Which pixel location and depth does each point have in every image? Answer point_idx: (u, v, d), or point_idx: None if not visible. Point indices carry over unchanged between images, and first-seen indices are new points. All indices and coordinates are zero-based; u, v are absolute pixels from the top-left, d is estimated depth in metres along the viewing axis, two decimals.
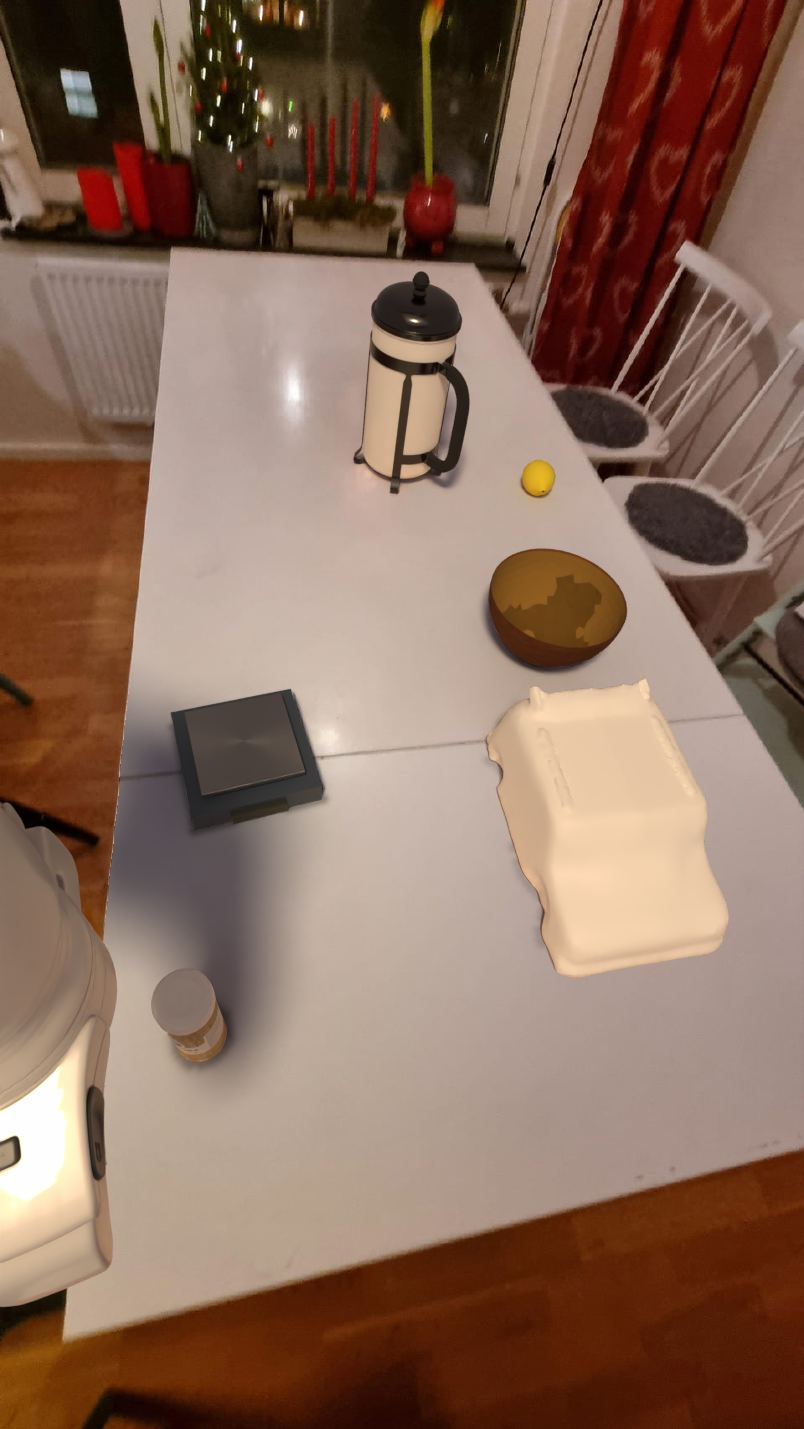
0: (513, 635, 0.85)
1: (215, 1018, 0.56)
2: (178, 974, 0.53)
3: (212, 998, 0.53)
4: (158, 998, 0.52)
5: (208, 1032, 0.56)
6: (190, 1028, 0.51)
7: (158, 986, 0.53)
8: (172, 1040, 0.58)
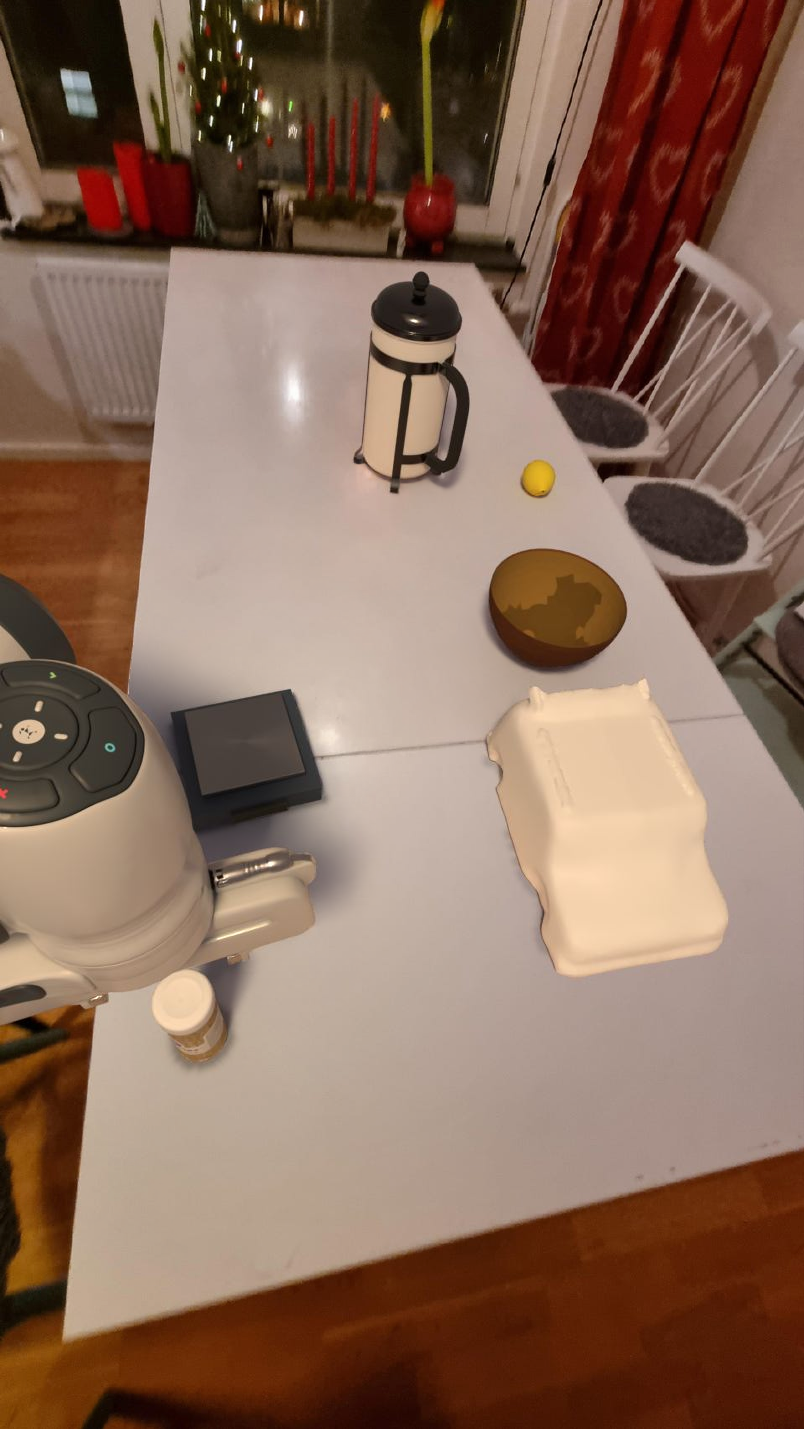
0: (513, 635, 0.85)
1: (215, 1018, 0.56)
2: (178, 974, 0.53)
3: (212, 998, 0.53)
4: (158, 998, 0.52)
5: (208, 1032, 0.56)
6: (190, 1028, 0.51)
7: (158, 986, 0.53)
8: (172, 1040, 0.58)
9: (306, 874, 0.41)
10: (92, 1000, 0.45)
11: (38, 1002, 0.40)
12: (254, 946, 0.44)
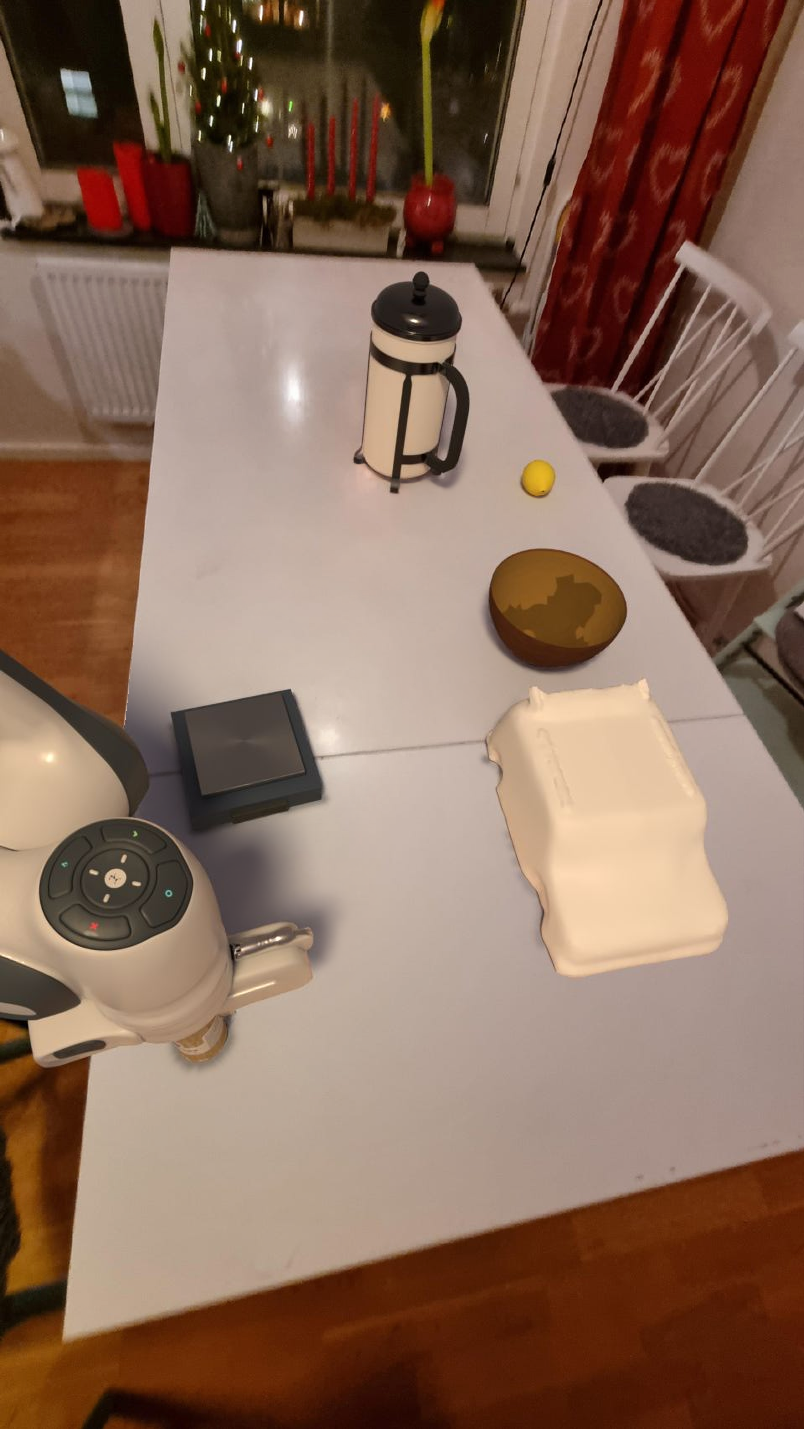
0: (513, 635, 0.85)
1: (214, 1019, 0.56)
2: None
3: None
4: None
5: (207, 1033, 0.56)
6: None
7: None
8: None
9: (305, 944, 0.52)
10: None
11: None
12: (263, 998, 0.55)
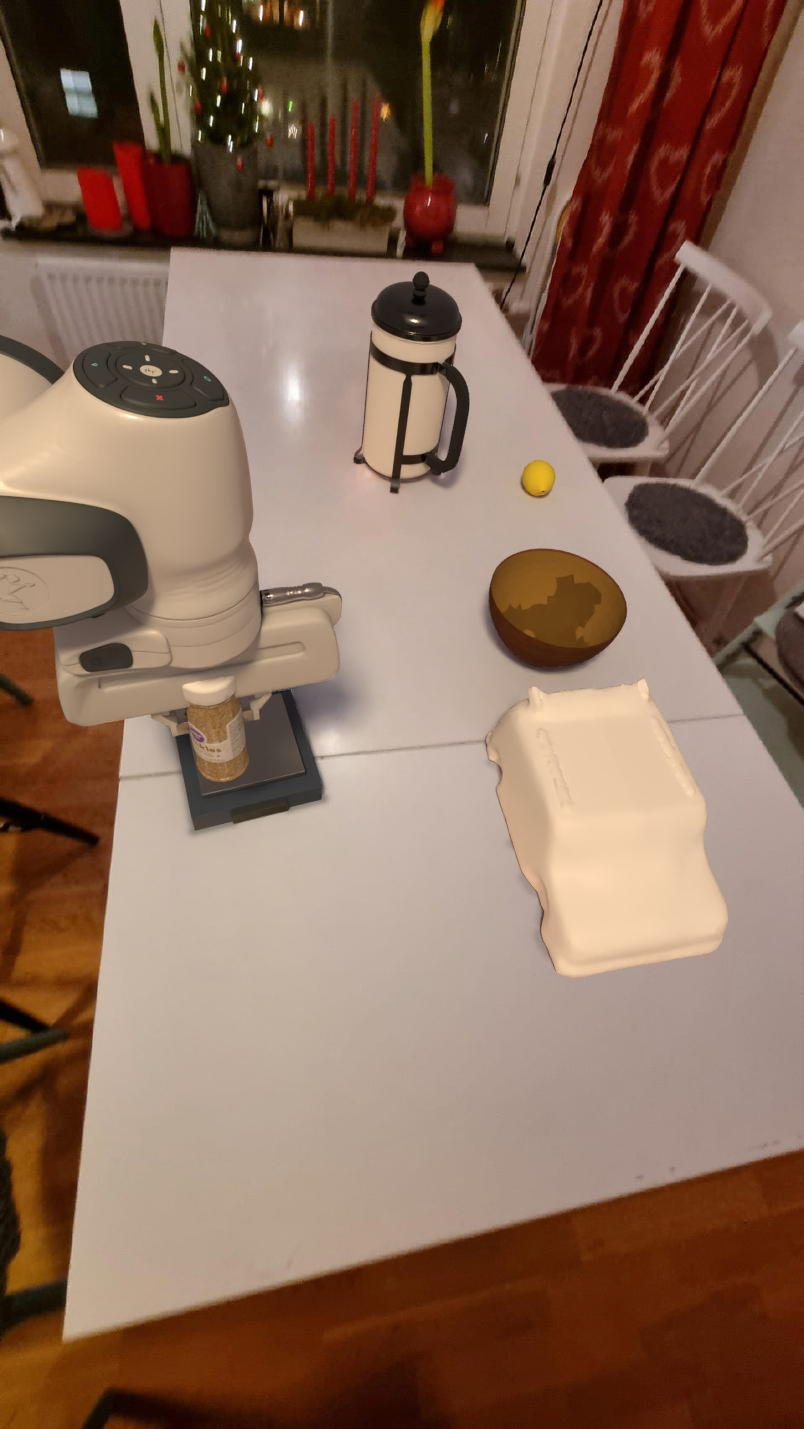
0: (513, 635, 0.85)
1: (238, 710, 0.55)
2: None
3: None
4: None
5: (231, 722, 0.54)
6: (213, 692, 0.50)
7: None
8: (194, 742, 0.57)
9: (334, 610, 0.51)
10: (180, 725, 0.55)
11: (118, 702, 0.49)
12: (289, 683, 0.54)
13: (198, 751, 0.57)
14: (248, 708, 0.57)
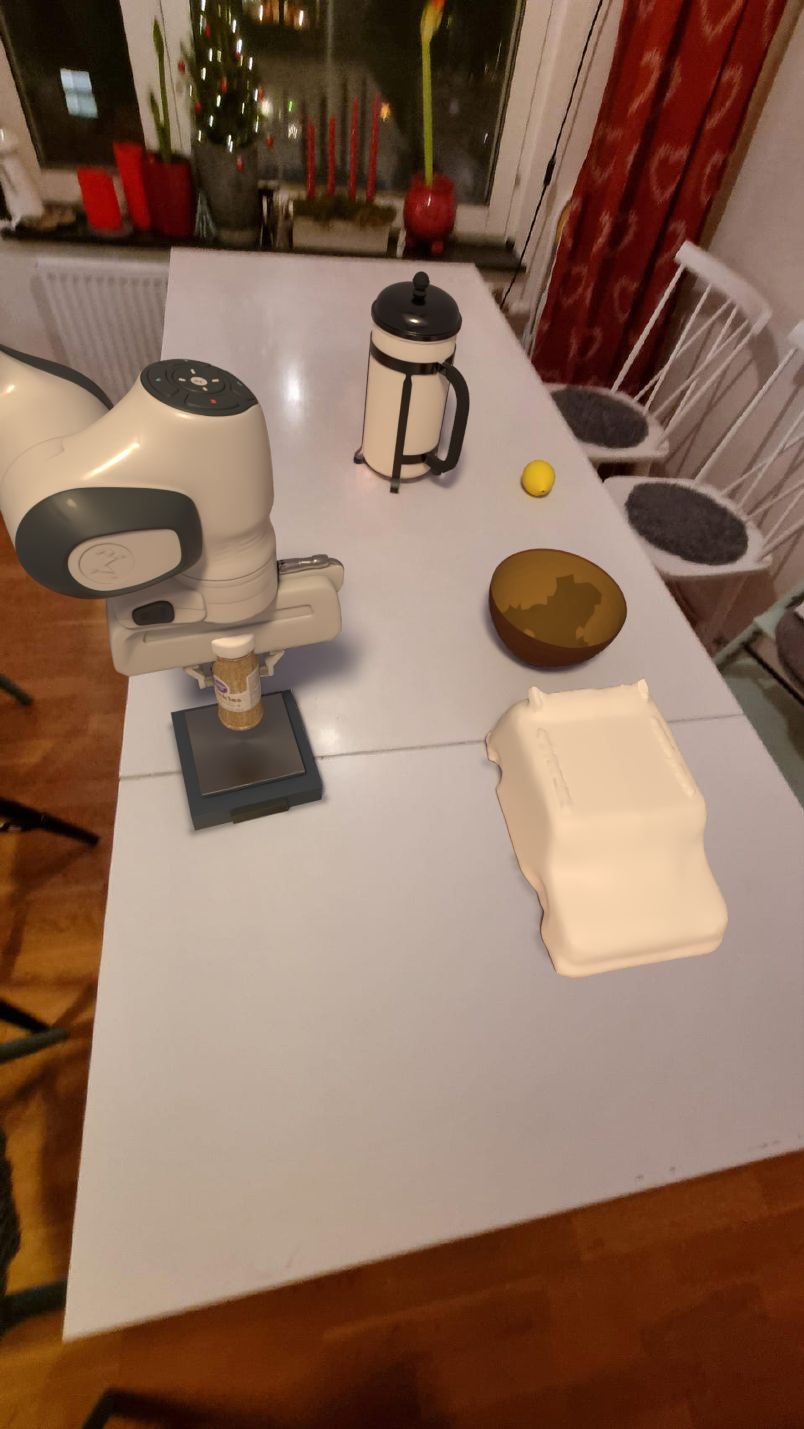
0: (513, 635, 0.85)
1: (256, 665, 0.65)
2: None
3: None
4: None
5: (250, 675, 0.64)
6: (237, 646, 0.60)
7: None
8: (218, 693, 0.67)
9: (337, 578, 0.61)
10: (206, 678, 0.65)
11: (158, 654, 0.59)
12: (299, 641, 0.64)
13: (221, 702, 0.67)
14: (264, 665, 0.66)
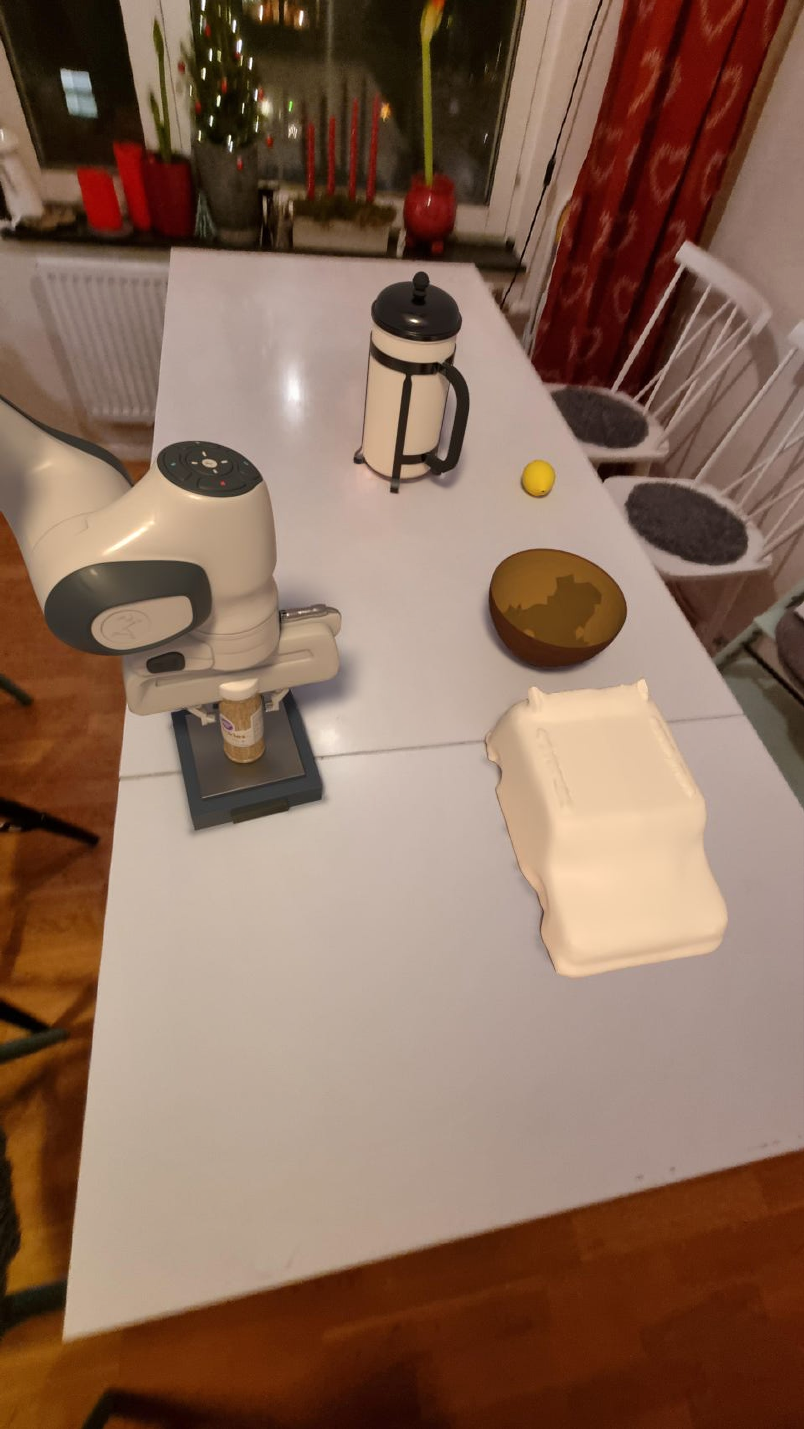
0: (513, 635, 0.85)
1: (260, 704, 0.70)
2: None
3: None
4: None
5: (254, 714, 0.69)
6: (243, 690, 0.65)
7: None
8: (224, 730, 0.72)
9: (335, 625, 0.66)
10: (208, 716, 0.69)
11: (168, 696, 0.64)
12: (299, 681, 0.68)
13: (227, 737, 0.72)
14: (270, 701, 0.71)
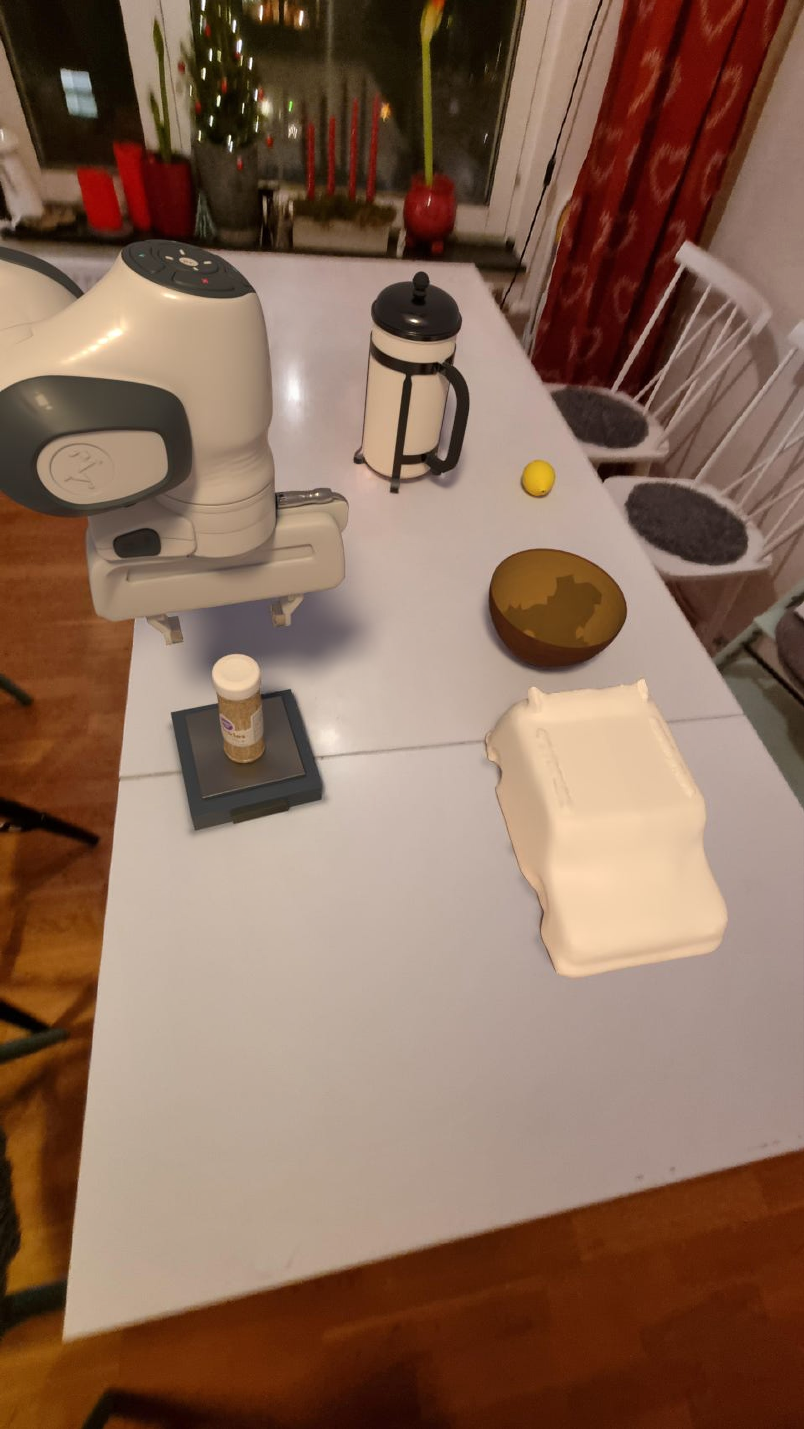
0: (513, 635, 0.85)
1: (260, 704, 0.70)
2: (232, 656, 0.67)
3: (259, 673, 0.66)
4: (217, 669, 0.66)
5: (254, 714, 0.69)
6: (243, 690, 0.65)
7: (217, 662, 0.66)
8: (224, 730, 0.71)
9: (341, 517, 0.56)
10: (173, 632, 0.59)
11: (143, 597, 0.54)
12: (299, 588, 0.58)
13: (226, 737, 0.72)
14: (281, 612, 0.62)
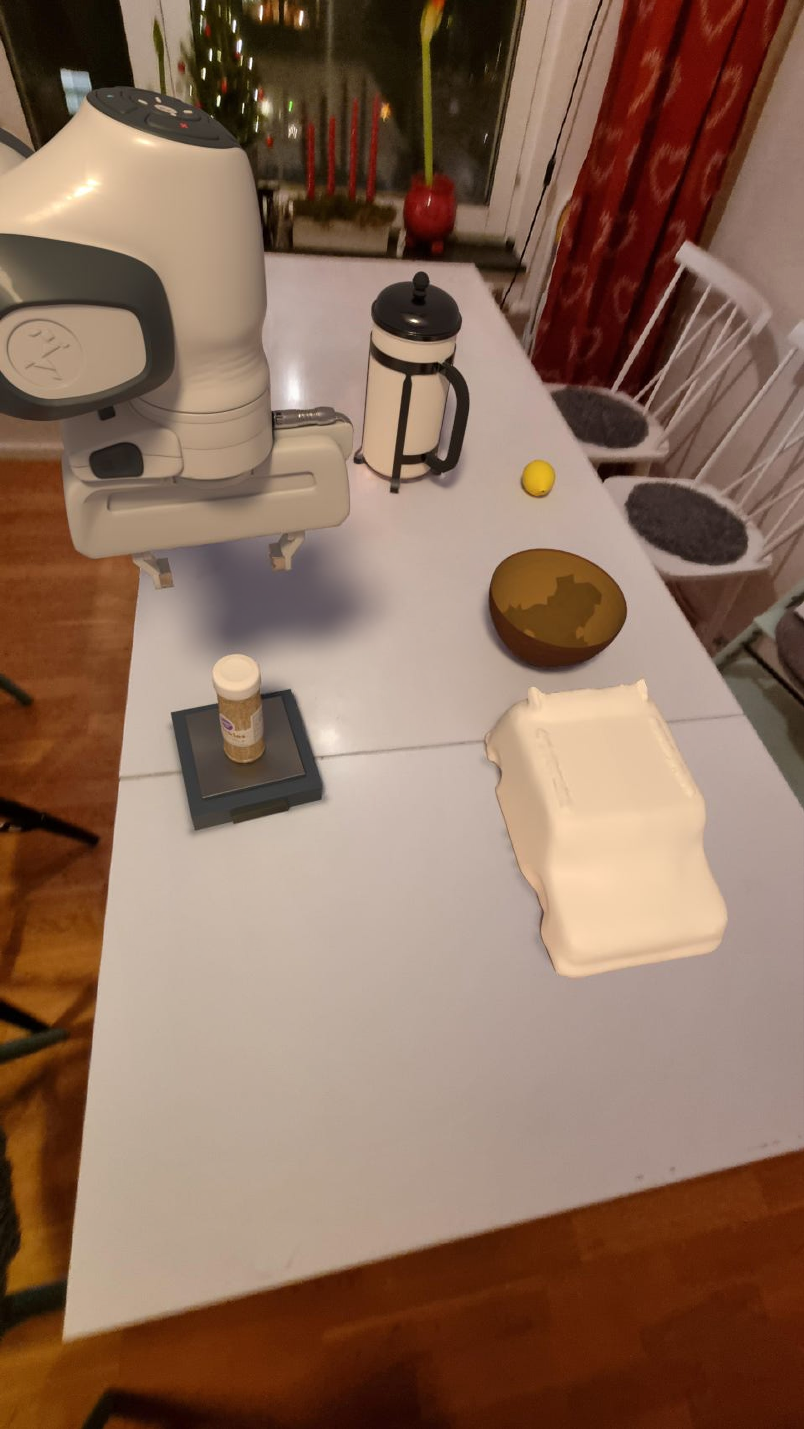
0: (513, 635, 0.85)
1: (260, 704, 0.70)
2: (232, 656, 0.67)
3: (259, 673, 0.66)
4: (217, 669, 0.66)
5: (254, 714, 0.69)
6: (243, 690, 0.65)
7: (217, 662, 0.66)
8: (224, 730, 0.72)
9: (345, 442, 0.50)
10: (162, 575, 0.54)
11: (126, 529, 0.48)
12: (299, 524, 0.53)
13: (226, 737, 0.72)
14: (280, 555, 0.56)
